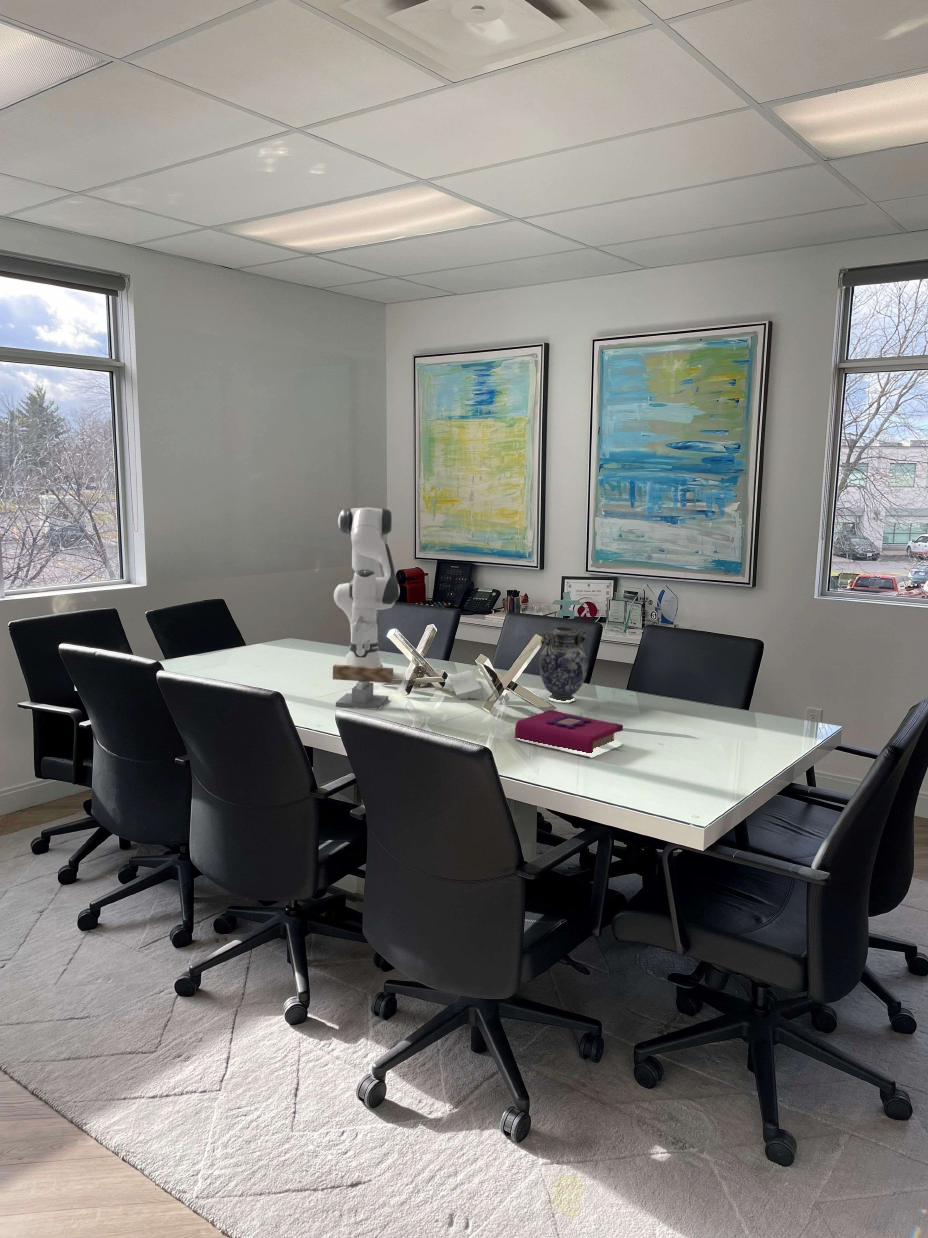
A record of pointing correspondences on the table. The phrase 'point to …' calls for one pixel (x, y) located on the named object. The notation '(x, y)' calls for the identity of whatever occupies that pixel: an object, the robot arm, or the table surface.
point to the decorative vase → (563, 662)
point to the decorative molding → (466, 685)
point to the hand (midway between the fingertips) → (363, 652)
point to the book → (566, 730)
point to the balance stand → (362, 697)
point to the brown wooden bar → (363, 673)
